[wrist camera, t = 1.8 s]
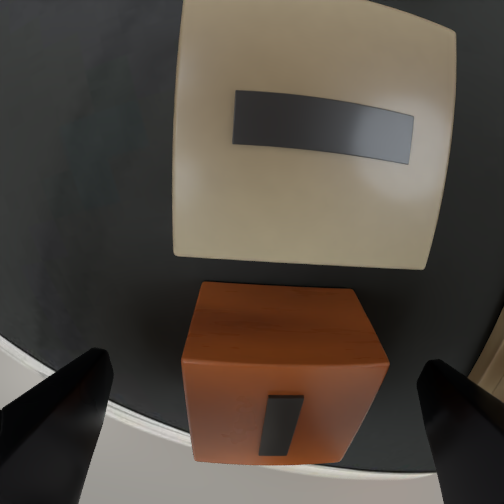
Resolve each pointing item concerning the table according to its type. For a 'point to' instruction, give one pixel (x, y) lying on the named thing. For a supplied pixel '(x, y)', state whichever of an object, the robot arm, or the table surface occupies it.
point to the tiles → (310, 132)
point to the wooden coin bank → (278, 373)
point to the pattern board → (491, 359)
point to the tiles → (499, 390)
